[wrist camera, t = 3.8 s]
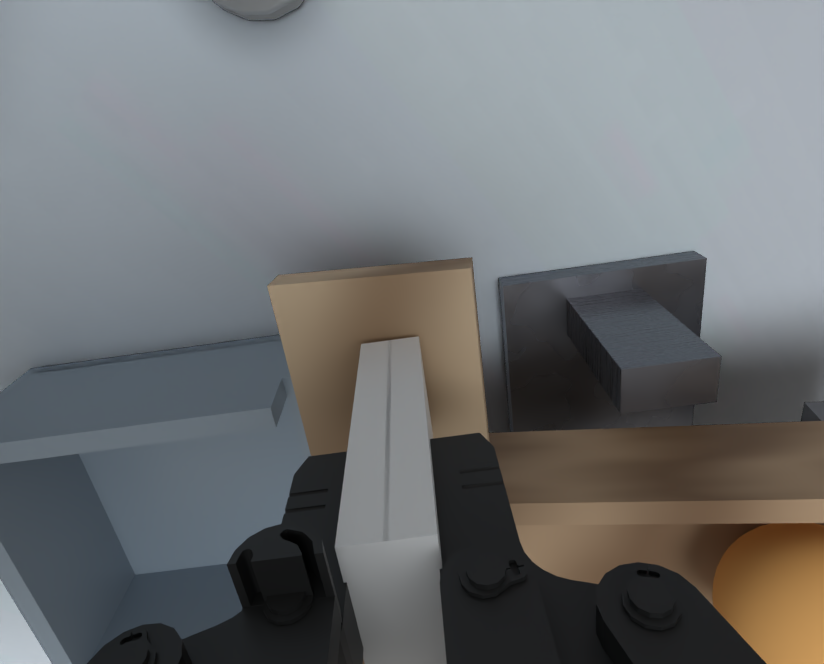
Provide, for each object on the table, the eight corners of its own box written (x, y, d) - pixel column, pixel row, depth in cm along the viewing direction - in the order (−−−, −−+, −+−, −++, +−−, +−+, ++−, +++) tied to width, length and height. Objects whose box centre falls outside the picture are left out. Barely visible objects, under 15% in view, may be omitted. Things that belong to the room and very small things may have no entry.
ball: (832, 595, 19) (681, 603, 20) (861, 479, 17) (691, 492, 18) (954, 757, 15) (754, 763, 15) (1013, 626, 13) (778, 637, 13)
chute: (1065, 142, 16) (1394, 187, 10) (928, 552, 22) (1081, 722, 16) (319, 222, 20) (248, 287, 14) (387, 552, 26) (358, 690, 20)
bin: (130, 578, 29) (69, 692, 24) (30, 368, 24) (-76, 453, 19) (367, 549, 29) (361, 658, 23) (317, 329, 24) (294, 404, 18)
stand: (519, 548, 29) (553, 679, 23) (498, 278, 23) (538, 354, 17) (673, 529, 29) (751, 656, 23) (694, 250, 23) (810, 318, 16)
